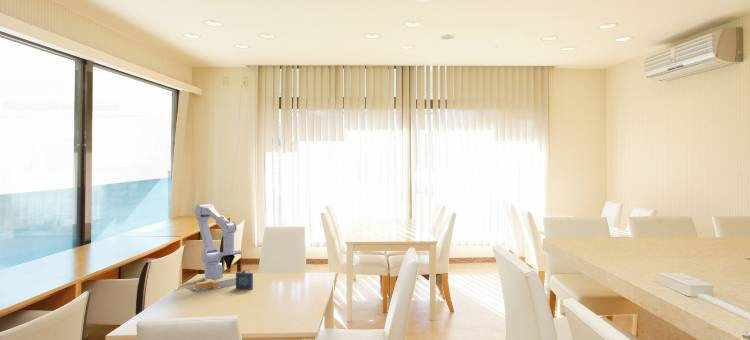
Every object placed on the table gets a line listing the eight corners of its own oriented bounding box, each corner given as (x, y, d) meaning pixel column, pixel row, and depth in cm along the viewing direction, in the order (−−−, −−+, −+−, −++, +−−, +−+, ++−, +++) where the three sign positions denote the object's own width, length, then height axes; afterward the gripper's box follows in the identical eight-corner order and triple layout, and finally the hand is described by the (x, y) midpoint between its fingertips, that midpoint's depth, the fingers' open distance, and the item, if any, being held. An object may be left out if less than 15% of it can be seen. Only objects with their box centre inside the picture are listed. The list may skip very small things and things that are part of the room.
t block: (209, 284, 254) (209, 278, 254) (218, 287, 247) (218, 282, 247) (192, 287, 247) (192, 282, 247) (200, 291, 240) (200, 285, 240)
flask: (253, 288, 247) (253, 268, 247) (251, 290, 244) (251, 270, 244) (236, 288, 248) (236, 268, 247) (234, 289, 245) (234, 269, 245)
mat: (237, 278, 268) (237, 277, 268) (250, 282, 259) (250, 282, 259) (185, 288, 246) (185, 287, 246) (196, 293, 236) (196, 293, 236)
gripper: (219, 246, 249) (219, 271, 249) (244, 243, 260) (243, 267, 260) (213, 245, 254) (213, 269, 254) (237, 242, 265) (237, 265, 265)
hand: (228, 268), depth 257 cm, fingers closed
